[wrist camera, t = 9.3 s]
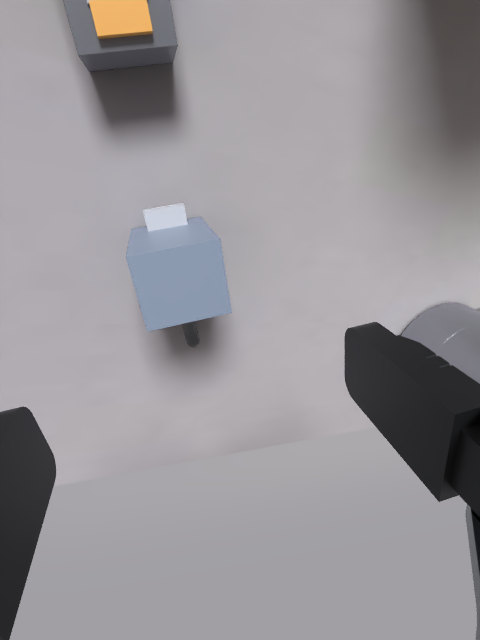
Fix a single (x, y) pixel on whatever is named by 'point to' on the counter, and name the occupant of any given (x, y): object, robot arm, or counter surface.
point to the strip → (122, 32)
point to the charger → (177, 270)
